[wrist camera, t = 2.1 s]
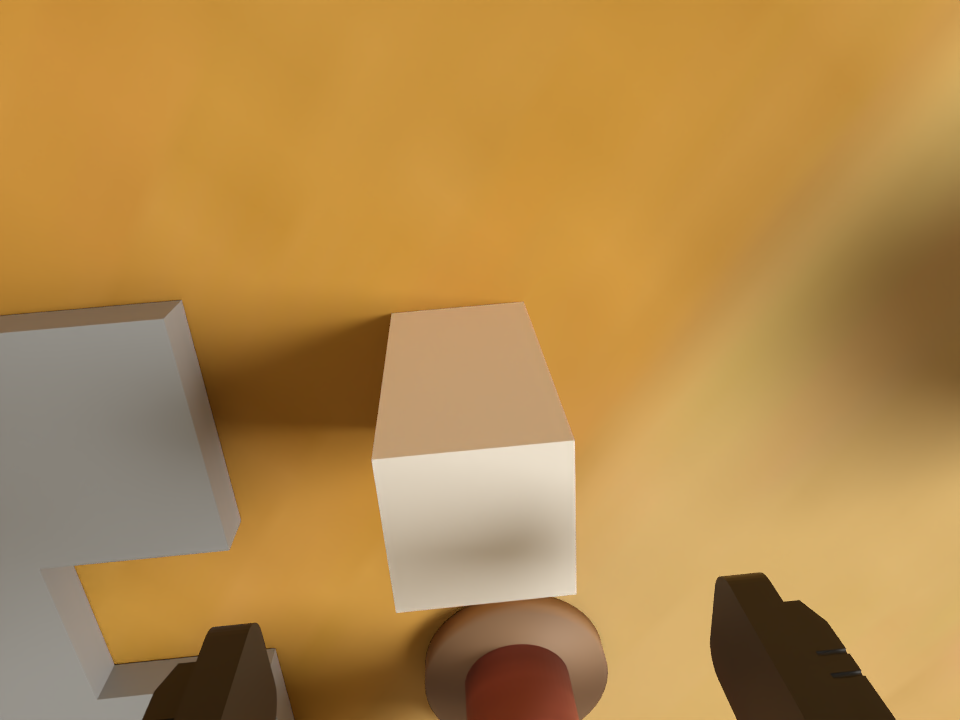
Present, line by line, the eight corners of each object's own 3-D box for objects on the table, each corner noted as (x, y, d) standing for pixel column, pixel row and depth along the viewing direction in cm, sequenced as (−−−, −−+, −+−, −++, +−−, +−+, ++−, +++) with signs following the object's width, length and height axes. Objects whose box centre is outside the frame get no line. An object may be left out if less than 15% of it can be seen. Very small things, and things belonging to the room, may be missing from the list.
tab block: (391, 313, 21) (371, 459, 13) (523, 301, 21) (574, 440, 13) (406, 427, 22) (396, 612, 15) (528, 416, 22) (576, 594, 15)
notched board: (-243, 336, 19) (-293, 358, 18) (181, 299, 20) (163, 318, 19) (26, 815, 29) (6, 853, 27) (311, 783, 29) (306, 819, 28)
